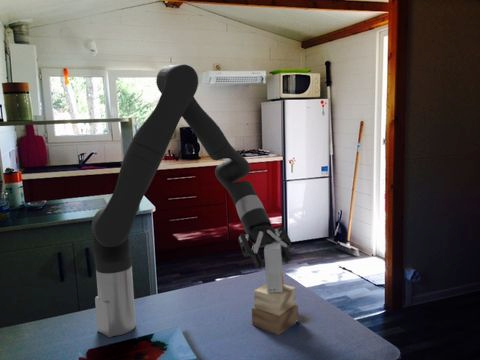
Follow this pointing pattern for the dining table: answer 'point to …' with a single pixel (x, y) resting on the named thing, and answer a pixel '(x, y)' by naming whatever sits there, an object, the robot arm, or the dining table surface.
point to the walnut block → (275, 320)
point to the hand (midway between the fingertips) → (275, 264)
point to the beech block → (274, 299)
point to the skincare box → (273, 267)
